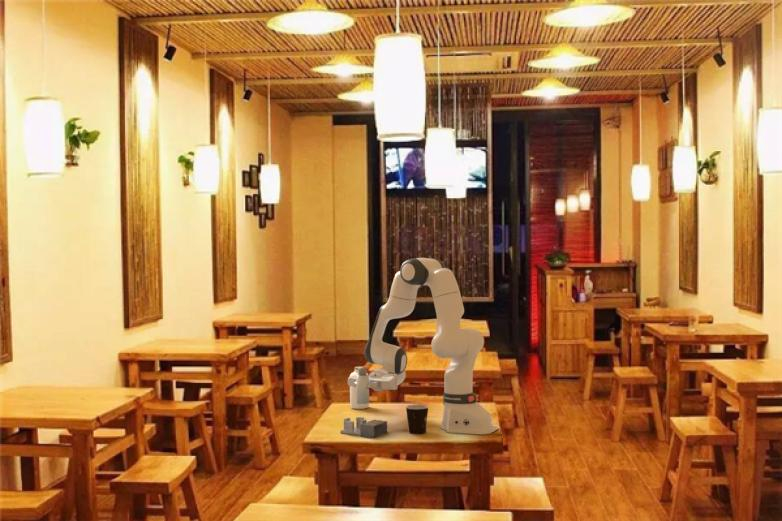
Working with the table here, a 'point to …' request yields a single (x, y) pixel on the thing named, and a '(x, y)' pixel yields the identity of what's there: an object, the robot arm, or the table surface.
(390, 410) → the table surface
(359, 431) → the bottle holder
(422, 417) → the coffee mug
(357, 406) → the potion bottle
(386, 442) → the table surface
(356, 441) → the table surface
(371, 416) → the table surface
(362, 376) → the white lotion bottle
